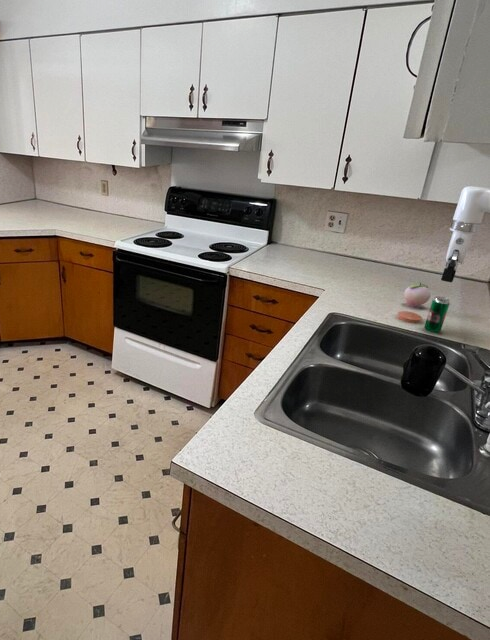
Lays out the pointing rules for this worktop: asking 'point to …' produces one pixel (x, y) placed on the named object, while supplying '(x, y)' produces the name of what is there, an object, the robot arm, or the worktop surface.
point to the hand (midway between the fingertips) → (447, 277)
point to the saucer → (409, 317)
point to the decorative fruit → (417, 294)
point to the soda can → (437, 314)
